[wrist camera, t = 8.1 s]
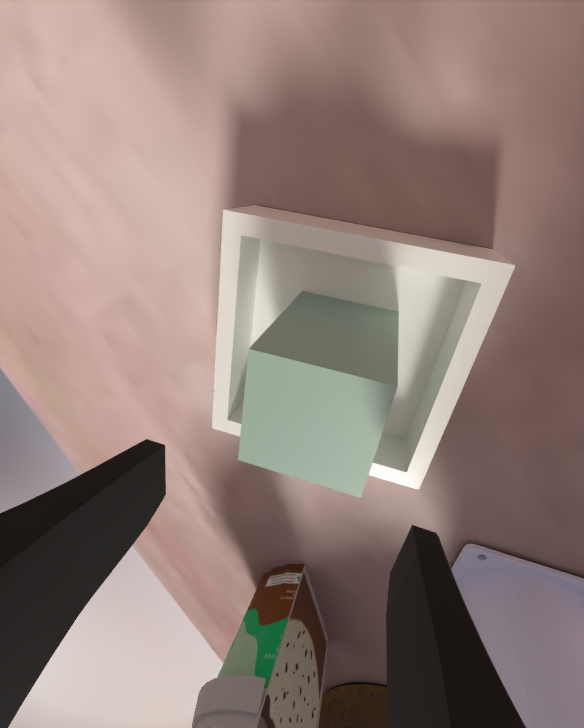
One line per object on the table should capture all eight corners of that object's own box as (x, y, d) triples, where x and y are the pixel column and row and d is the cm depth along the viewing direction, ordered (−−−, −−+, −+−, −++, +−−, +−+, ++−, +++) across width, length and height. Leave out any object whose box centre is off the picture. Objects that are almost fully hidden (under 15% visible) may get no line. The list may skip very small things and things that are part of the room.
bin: (493, 249, 15) (515, 265, 12) (416, 444, 20) (418, 489, 17) (254, 205, 17) (222, 209, 14) (237, 394, 22) (211, 428, 19)
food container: (225, 545, 29) (150, 701, 20) (300, 550, 27) (251, 726, 18) (266, 642, 33) (219, 803, 25) (332, 652, 31) (306, 832, 23)
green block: (398, 311, 16) (397, 386, 10) (373, 395, 19) (361, 498, 12) (302, 290, 17) (248, 348, 11) (289, 373, 19) (237, 459, 13)
